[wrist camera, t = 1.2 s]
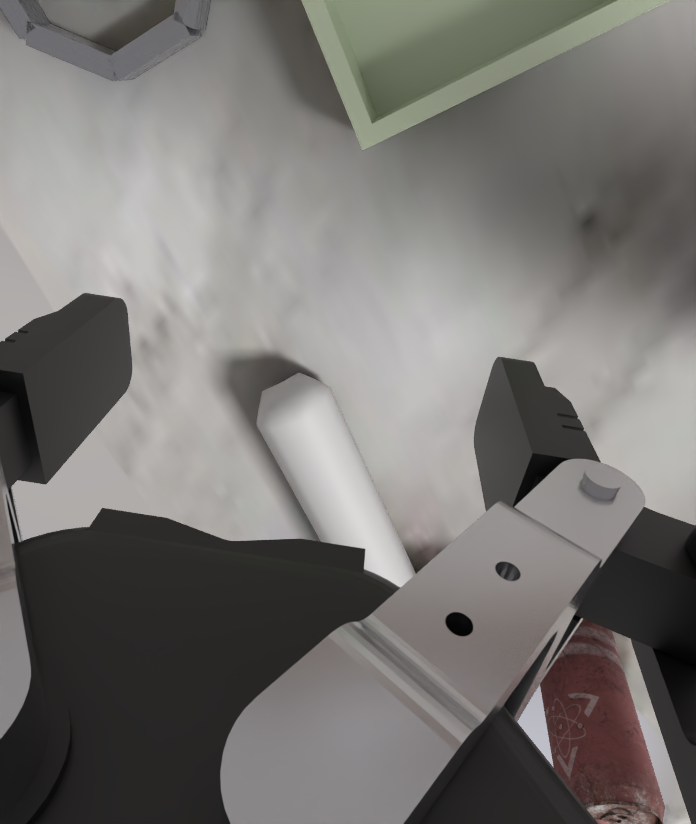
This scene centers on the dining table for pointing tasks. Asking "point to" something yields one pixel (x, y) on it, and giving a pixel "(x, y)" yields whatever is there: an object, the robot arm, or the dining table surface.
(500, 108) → the dining table surface
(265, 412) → the tube
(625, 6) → the bin
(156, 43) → the socket ring
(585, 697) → the can
